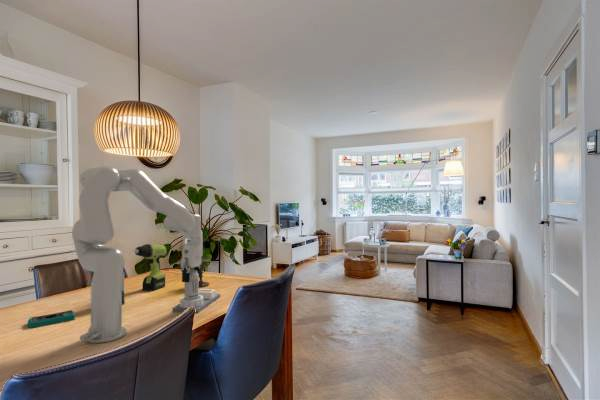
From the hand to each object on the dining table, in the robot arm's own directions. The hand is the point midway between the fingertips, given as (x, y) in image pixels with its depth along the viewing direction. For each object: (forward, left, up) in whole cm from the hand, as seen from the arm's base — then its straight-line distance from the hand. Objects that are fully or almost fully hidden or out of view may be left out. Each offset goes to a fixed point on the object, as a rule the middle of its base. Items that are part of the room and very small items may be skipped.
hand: (191, 279), depth 148 cm
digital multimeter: (-24, +47, -13) cm, 54 cm away
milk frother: (-4, +36, -13) cm, 38 cm away
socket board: (+6, 0, -13) cm, 14 cm away
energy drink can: (0, 0, -11) cm, 11 cm away
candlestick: (+38, +14, -13) cm, 43 cm away
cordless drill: (+24, +37, -13) cm, 46 cm away
